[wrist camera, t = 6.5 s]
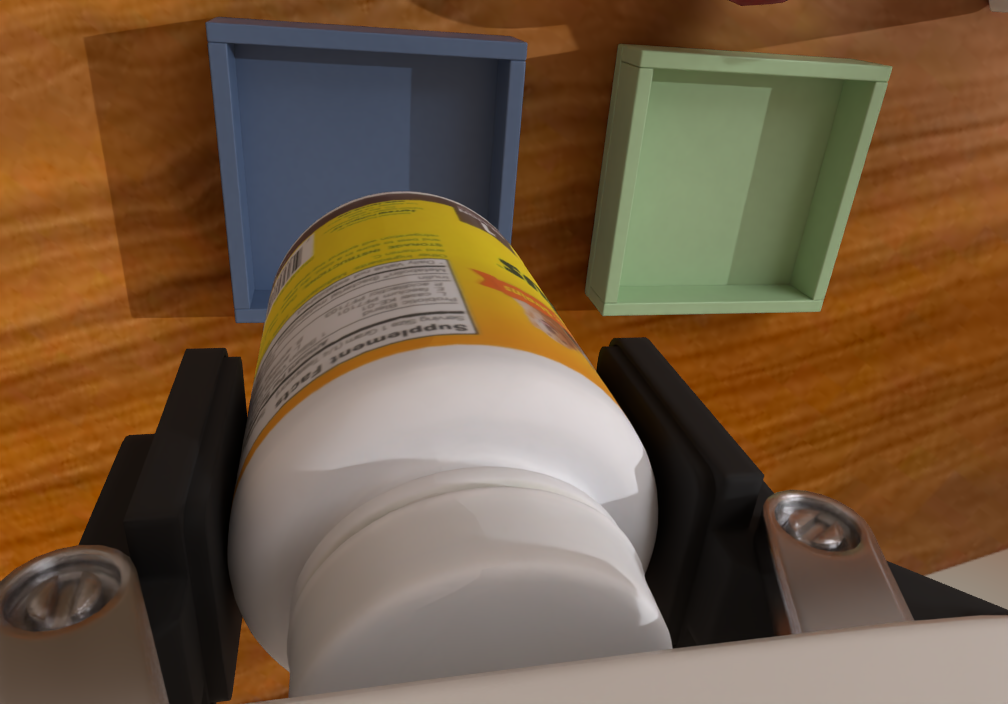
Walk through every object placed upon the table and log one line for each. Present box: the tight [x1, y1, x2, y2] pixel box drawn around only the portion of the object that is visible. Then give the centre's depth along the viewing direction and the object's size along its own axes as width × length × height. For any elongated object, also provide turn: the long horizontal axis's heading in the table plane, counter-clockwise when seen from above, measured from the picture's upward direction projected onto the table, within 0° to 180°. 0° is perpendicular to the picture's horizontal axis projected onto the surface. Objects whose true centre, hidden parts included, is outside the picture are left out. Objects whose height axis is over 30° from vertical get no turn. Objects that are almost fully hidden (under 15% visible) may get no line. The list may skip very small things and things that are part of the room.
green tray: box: [585, 44, 892, 316], centre depth 32 cm, size 11×11×3 cm
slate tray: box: [205, 17, 528, 323], centre depth 28 cm, size 11×11×3 cm
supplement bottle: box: [227, 192, 673, 698], centre depth 12 cm, size 6×6×10 cm
